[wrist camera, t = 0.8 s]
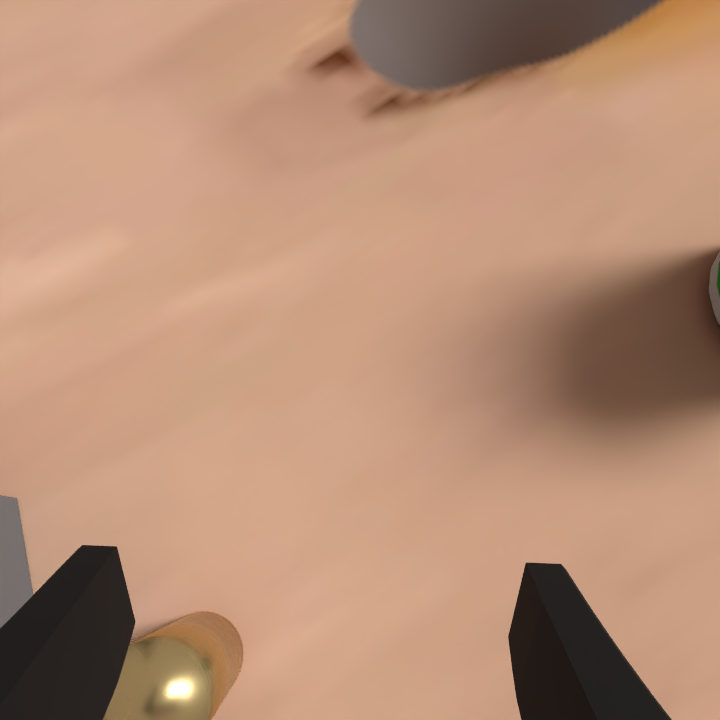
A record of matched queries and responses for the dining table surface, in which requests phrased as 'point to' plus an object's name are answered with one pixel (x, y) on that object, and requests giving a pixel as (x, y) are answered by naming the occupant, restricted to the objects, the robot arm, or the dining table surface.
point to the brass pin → (179, 671)
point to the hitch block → (12, 561)
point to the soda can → (715, 287)
